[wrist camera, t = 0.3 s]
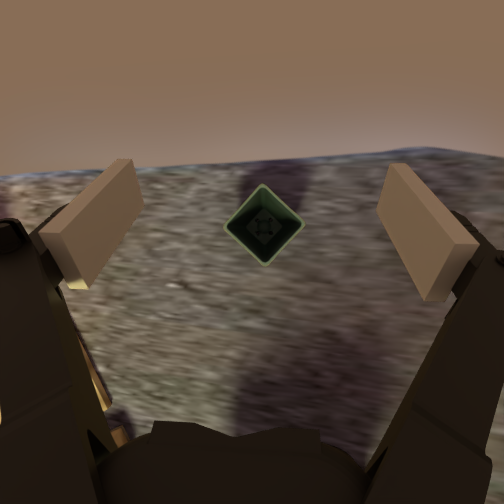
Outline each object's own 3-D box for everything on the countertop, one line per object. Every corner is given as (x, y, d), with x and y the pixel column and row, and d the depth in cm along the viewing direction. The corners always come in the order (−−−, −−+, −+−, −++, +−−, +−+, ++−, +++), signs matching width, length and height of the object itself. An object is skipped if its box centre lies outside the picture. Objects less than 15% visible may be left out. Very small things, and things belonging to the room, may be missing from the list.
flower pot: (228, 228, 51) (220, 227, 42) (262, 190, 50) (262, 181, 42) (264, 262, 51) (265, 268, 42) (299, 225, 51) (307, 223, 42)
